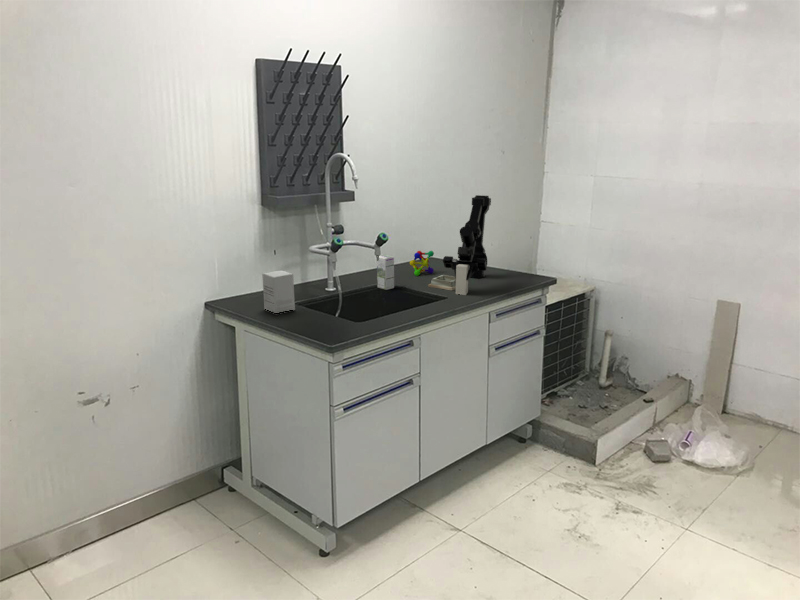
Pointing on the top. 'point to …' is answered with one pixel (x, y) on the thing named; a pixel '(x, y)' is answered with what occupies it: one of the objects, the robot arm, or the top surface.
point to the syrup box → (385, 272)
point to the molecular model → (424, 262)
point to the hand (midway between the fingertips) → (461, 279)
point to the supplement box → (278, 291)
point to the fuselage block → (461, 279)
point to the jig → (443, 282)
